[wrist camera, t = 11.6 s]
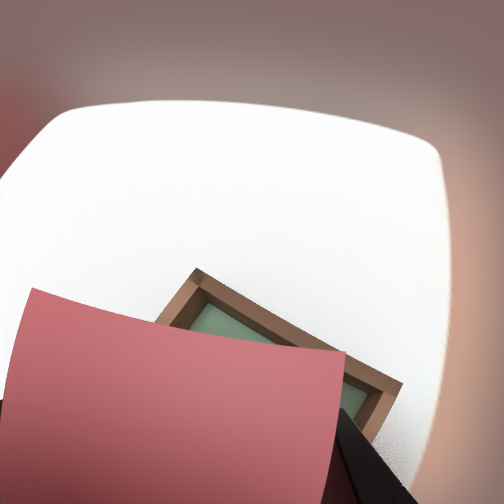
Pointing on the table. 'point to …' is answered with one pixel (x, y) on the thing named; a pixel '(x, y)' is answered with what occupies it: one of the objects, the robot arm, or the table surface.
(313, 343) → the box
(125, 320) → the post
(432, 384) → the table surface
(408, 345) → the table surface
